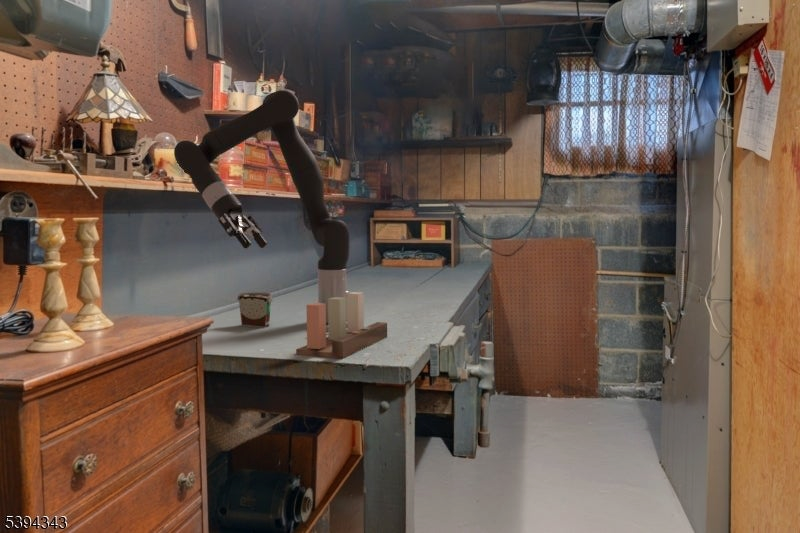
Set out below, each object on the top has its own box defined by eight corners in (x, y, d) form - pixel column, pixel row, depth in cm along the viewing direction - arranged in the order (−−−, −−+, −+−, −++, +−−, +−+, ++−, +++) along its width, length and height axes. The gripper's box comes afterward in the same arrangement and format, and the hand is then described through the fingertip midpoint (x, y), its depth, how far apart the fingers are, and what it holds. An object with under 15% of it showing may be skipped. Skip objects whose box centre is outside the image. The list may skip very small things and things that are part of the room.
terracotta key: (307, 347, 151) (306, 304, 150) (314, 345, 154) (313, 302, 153) (319, 349, 149) (318, 305, 148) (326, 346, 152) (325, 303, 151)
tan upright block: (347, 331, 171) (347, 293, 170) (352, 329, 174) (352, 292, 173) (358, 332, 169) (358, 294, 168) (363, 330, 173) (363, 292, 172)
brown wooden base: (296, 353, 151) (295, 336, 151) (345, 333, 176) (345, 318, 176) (343, 358, 146) (342, 340, 146) (387, 337, 171) (387, 321, 170)
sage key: (328, 339, 161) (328, 298, 160) (334, 336, 164) (334, 297, 163) (340, 340, 159) (339, 299, 158) (346, 337, 163) (345, 297, 162)
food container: (281, 324, 190) (280, 293, 189) (269, 328, 185) (268, 295, 184) (250, 321, 195) (249, 291, 195) (237, 324, 190) (237, 293, 189)
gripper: (216, 190, 158) (252, 237, 156) (245, 194, 172) (278, 237, 169) (198, 209, 160) (233, 255, 158) (227, 211, 174) (260, 254, 171)
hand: (256, 246), depth 163 cm, fingers open, 8 cm apart
